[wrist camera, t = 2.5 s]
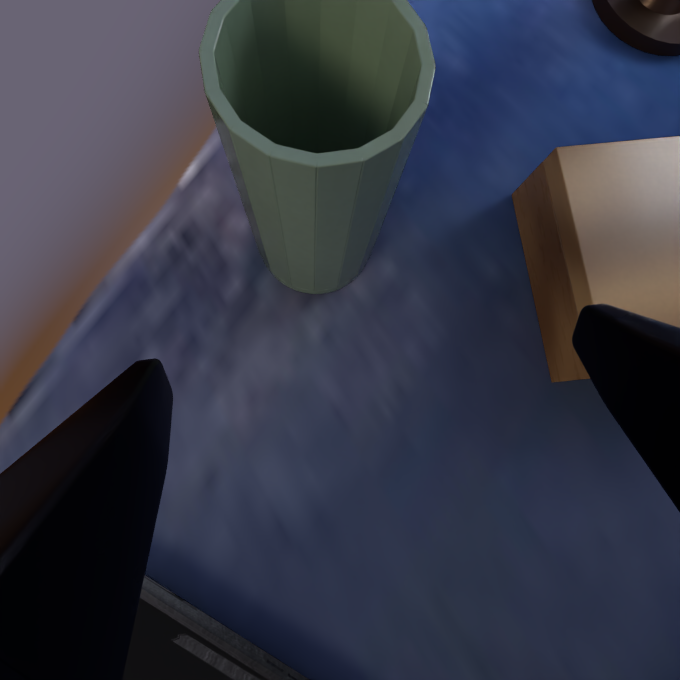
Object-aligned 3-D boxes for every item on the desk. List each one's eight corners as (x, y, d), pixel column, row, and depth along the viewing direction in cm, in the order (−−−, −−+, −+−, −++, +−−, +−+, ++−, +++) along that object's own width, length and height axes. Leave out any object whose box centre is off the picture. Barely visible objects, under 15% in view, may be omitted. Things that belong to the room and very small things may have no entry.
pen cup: (358, 305, 23) (411, 189, 11) (246, 280, 23) (171, 134, 11) (380, 201, 24) (451, -11, 12) (273, 177, 24) (233, -65, 12)
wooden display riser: (782, 349, 24) (890, 335, 20) (551, 382, 23) (609, 376, 19) (730, 172, 26) (818, 122, 21) (511, 194, 25) (555, 146, 20)
